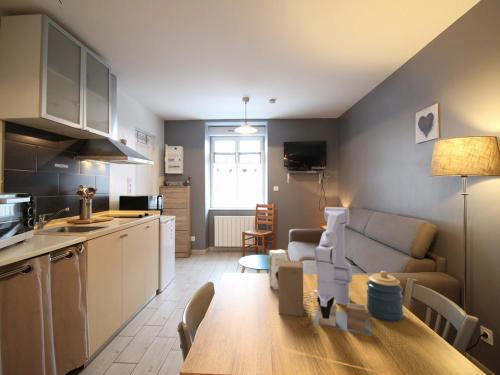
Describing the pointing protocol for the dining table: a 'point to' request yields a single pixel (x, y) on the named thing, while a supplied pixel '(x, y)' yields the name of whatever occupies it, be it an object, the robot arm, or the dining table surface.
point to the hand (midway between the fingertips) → (325, 317)
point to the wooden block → (290, 288)
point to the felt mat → (344, 323)
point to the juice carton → (275, 266)
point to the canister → (384, 297)
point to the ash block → (332, 317)
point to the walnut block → (356, 317)
